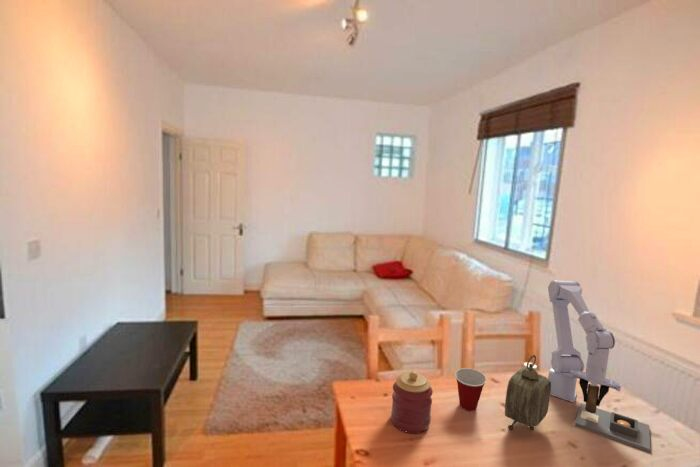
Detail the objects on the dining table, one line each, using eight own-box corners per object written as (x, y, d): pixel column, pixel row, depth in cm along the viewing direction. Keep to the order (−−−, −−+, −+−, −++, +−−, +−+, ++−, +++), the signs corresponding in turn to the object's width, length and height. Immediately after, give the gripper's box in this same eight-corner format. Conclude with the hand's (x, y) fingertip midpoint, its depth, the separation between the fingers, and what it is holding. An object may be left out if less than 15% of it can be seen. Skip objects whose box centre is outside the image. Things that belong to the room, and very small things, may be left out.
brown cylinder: (584, 410, 131) (588, 386, 130) (585, 406, 134) (588, 382, 133) (595, 414, 129) (599, 389, 128) (596, 409, 132) (599, 385, 131)
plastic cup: (450, 411, 134) (453, 379, 132) (454, 395, 144) (456, 365, 142) (483, 419, 130) (486, 386, 128) (484, 402, 140) (487, 371, 138)
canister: (434, 416, 131) (437, 368, 128) (424, 439, 119) (428, 386, 116) (397, 406, 136) (400, 359, 133) (385, 426, 124) (388, 376, 122)
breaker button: (616, 426, 126) (617, 423, 126) (617, 421, 129) (617, 418, 129) (630, 431, 124) (630, 428, 124) (630, 425, 127) (630, 423, 127)
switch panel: (574, 425, 129) (576, 415, 128) (580, 405, 141) (581, 396, 140) (649, 452, 117) (651, 441, 116) (648, 427, 129) (650, 418, 128)
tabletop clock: (520, 412, 135) (527, 345, 131) (547, 424, 129) (556, 354, 125) (502, 430, 125) (509, 358, 121) (530, 444, 119) (539, 368, 115)
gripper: (570, 362, 130) (565, 399, 132) (622, 377, 122) (616, 416, 124) (573, 355, 136) (568, 391, 138) (623, 368, 127) (617, 406, 129)
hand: (591, 402), depth 131 cm, fingers closed on brown cylinder, 3 cm apart
